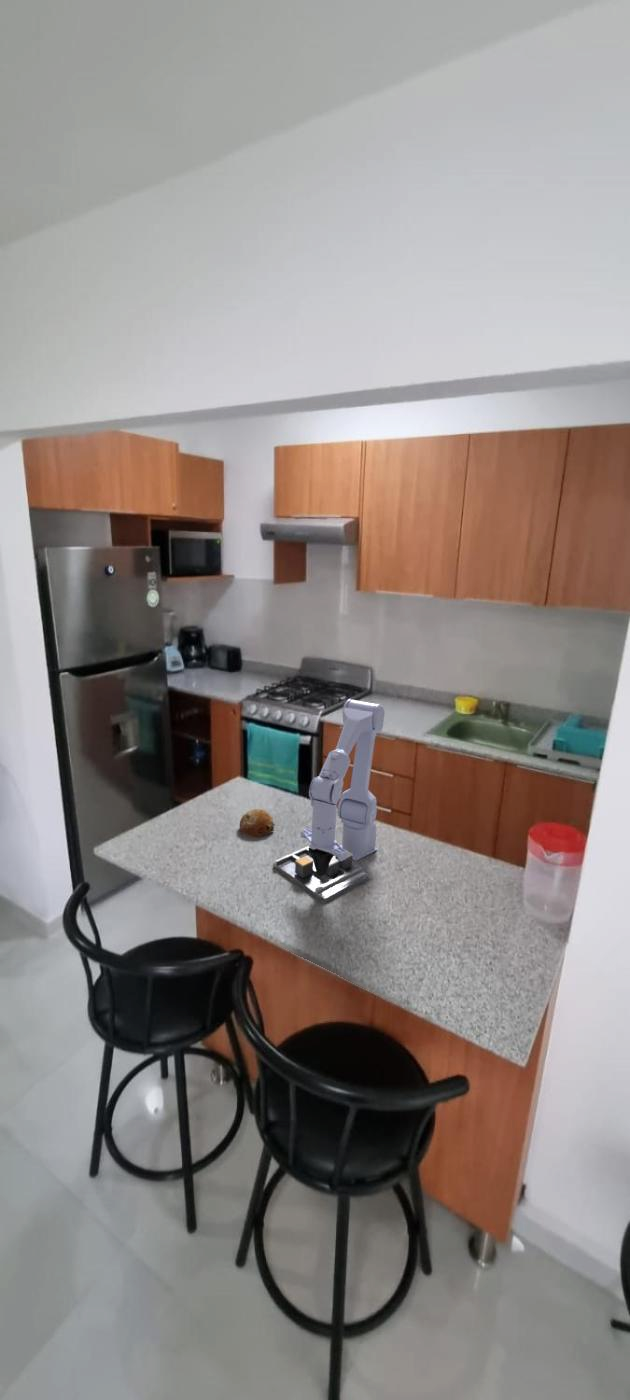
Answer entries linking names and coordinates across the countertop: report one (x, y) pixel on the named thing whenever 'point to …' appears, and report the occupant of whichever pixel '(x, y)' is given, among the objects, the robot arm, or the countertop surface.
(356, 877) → the panel
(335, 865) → the block
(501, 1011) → the countertop surface
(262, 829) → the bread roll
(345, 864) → the block
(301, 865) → the block
